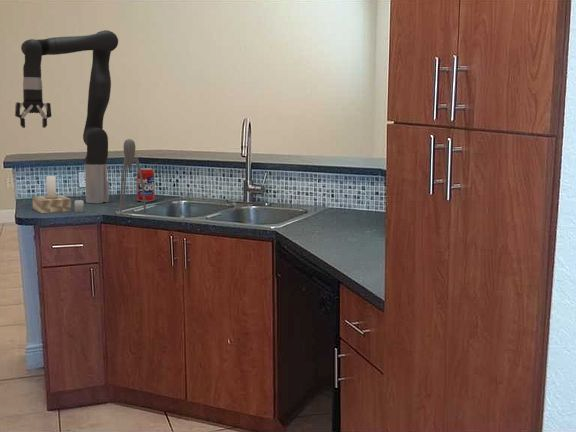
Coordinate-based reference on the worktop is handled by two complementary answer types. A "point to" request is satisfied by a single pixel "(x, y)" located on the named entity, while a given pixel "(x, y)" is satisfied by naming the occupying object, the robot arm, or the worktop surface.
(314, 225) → the worktop surface
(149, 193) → the soda can
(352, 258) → the worktop surface
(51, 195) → the tall ivory dowel
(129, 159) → the citrus juicer
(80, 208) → the short grey dowel
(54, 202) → the birch socket block
